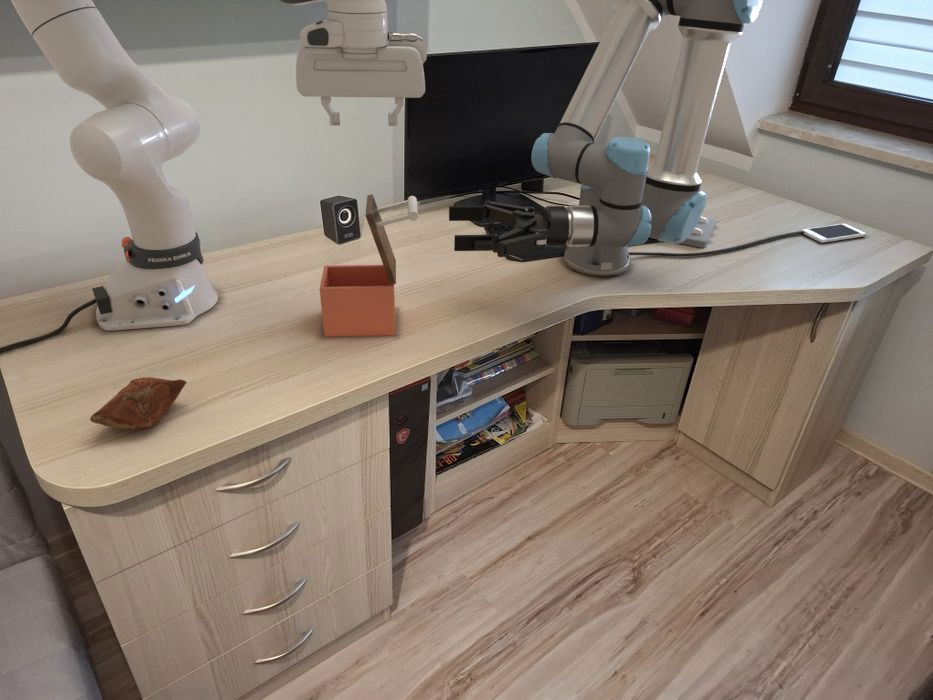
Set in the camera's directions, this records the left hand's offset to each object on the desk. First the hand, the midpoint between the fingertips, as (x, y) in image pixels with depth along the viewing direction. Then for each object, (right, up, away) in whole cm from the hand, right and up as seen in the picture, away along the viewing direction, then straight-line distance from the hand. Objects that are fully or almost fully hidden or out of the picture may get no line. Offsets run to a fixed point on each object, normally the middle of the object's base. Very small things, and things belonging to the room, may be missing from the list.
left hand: (364, 124), depth 105 cm
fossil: (-33, -48, -5) cm, 59 cm away
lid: (+1, -17, +12) cm, 21 cm away
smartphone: (+115, -6, +66) cm, 133 cm away
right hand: (+14, -15, +11) cm, 23 cm away
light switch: (+74, -5, +65) cm, 99 cm away
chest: (-4, -32, +21) cm, 38 cm away
